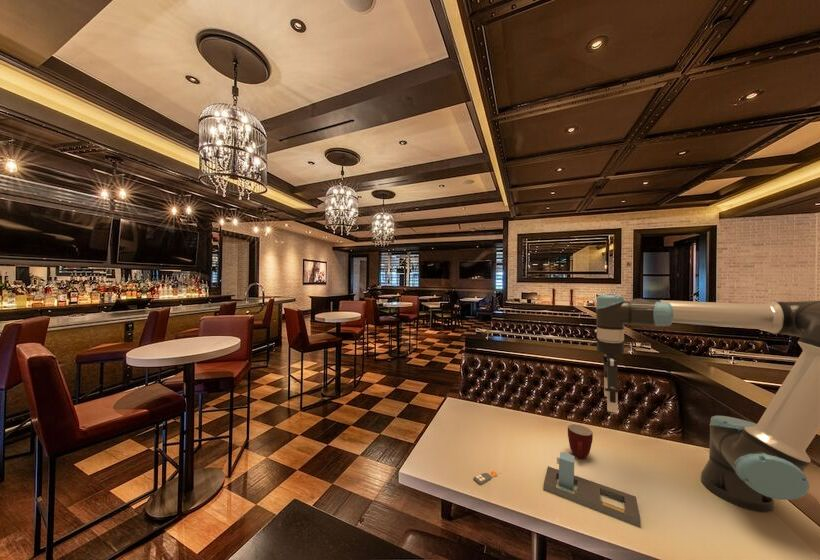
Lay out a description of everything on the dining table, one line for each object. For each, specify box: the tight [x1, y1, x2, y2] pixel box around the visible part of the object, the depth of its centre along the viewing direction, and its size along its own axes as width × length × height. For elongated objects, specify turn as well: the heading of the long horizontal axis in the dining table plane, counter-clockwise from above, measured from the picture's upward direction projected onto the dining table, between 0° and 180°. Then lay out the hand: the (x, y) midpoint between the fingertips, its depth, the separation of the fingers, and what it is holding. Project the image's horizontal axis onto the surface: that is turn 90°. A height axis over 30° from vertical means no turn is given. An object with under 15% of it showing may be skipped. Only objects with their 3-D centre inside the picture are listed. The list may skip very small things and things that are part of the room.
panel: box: [543, 465, 642, 528], centre depth 87 cm, size 24×10×2 cm, turn 57°
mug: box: [567, 423, 594, 460], centre depth 106 cm, size 10×8×10 cm
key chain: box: [473, 470, 503, 486], centre depth 96 cm, size 13×4×2 cm, turn 121°
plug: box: [556, 451, 576, 491], centre depth 91 cm, size 5×4×10 cm
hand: (610, 403), depth 95 cm, fingers open, 13 cm apart
